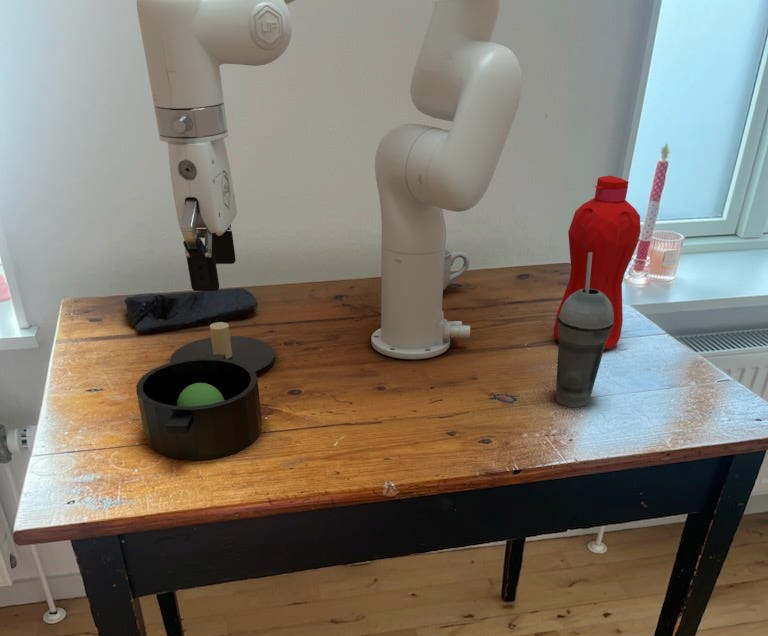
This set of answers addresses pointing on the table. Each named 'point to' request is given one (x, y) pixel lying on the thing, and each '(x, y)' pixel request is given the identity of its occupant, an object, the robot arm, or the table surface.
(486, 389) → the table surface
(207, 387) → the ball
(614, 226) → the water bottle
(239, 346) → the lid
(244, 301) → the dark slate chunk
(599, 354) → the beverage cup
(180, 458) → the pan
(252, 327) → the table surface
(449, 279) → the teacup
